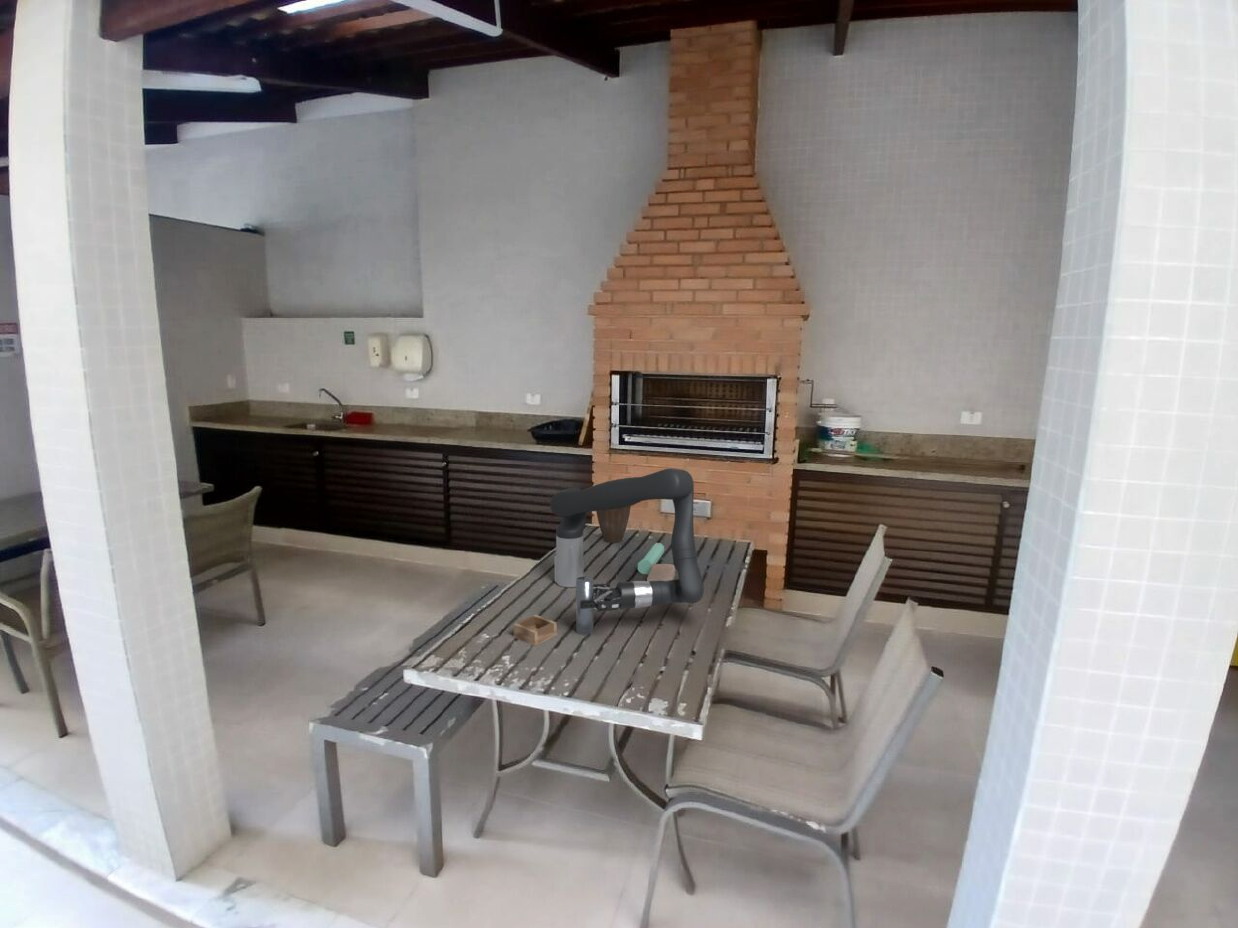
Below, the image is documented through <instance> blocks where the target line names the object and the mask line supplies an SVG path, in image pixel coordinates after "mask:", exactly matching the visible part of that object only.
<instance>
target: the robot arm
mask: <svg viewBox="0 0 1238 928" xmlns="http://www.w3.org/2000/svg"><path fill="white" fill-rule="evenodd" d="M694 484H695V483H694V479H693V476H692V475H691V473H690V472H689V471H688V470H685V469H680V468H665V469H661V470H659V471H656V472H653V473H649V474H646V475H643V476H636V477H634V476H633V477H625V478H617V479H613V480H608V481H604V482H602V483H597V484H594V485H592V486H590V487H586V488H584V489H581V488H579V487H570V488H566V489H563V490H560V491H557V492H556V493H554V495H553V496H552V497H551V499H550V501H549V502H550V503H549V507H550V510H551V512H552V513H553V514H554V515H555V516H557V517H559V518H561V519H562V521H561V522H560V523H559V524H558V525H557V527H556V530H555V533H556V534H555V537H556V551H555V552H556V554H555V555H554V557H553V558H554V582H555V583H556V584H557V585H558V586H560V587H561V588H562V587H563V588H575V587H576V579H577V578H579V577H584V530H585V528H586V525H587V513H588V512H596V511H604V510H614V509H620V508H626V507H629V506H635V505H636V504H638V503H641V502H643V501H650V500H669V501H670V500H672V503H673V507H674V508H673V509H674V523H673V527H672V533H671V539H670V541H671V544H670V545H671V555H672V560H673V561H672V563H673V565H674V567H675V571H677V574H678V578H677V579H674V580H669V581H647V580H633V581H622V582H617V583H616V585H615V587H611V584H610V583H593V598H594V599H593V600H581V601H580V608H581V609H587V608H593V610H596V611H597V612H598V613H600V612H609V611H610V612H611V611H618V610H627V609H629V610H630V609H639V608H640V609H641V608H647V607H654V606H655V607H656V606H664V605H665V606H666V605H668V604H677V603H678V604H679V603H687V604H697V603H699V602H700V601H701V600H702V598H703V597H704V592H705V591H704V589H705V587H704V581H703V577H702V574H701V570H700V567H699V565H698V564H699V563H698V556H697V550H696V541H695V531H694V493H695V487H694Z"/></svg>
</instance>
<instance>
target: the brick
mask: <svg viewBox="0 0 1238 928" xmlns="http://www.w3.org/2000/svg"><path fill="white" fill-rule="evenodd" d="M675 576H676V569H675V567H674V564H670V563H656V564H653V565H652V568H651V571H650V573H649V574H647V577H646V581H669V580H675Z"/></svg>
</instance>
